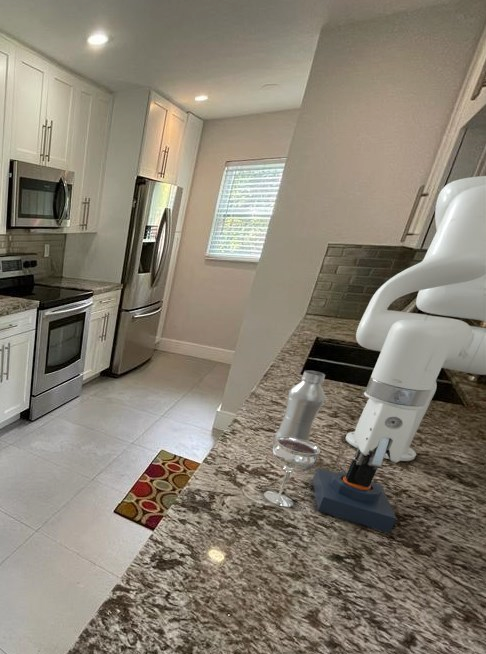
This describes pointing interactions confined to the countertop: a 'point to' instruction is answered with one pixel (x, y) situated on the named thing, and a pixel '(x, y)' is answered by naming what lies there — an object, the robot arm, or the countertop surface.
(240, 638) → the countertop surface
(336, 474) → the button base
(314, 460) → the wineglass
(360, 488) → the orange button cap
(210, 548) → the countertop surface
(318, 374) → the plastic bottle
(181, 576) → the countertop surface
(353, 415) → the countertop surface
